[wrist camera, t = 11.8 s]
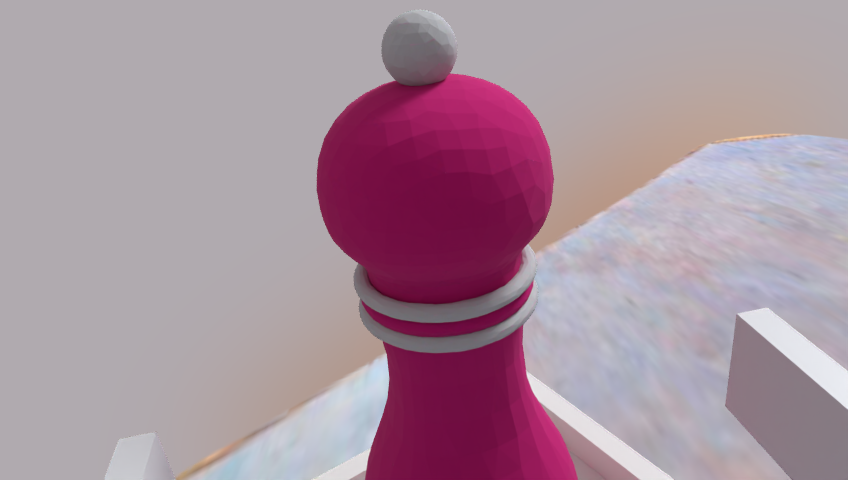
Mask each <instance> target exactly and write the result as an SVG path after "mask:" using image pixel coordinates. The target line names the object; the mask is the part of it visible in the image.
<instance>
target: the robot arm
mask: <svg viewBox="0 0 848 480" xmlns="http://www.w3.org/2000/svg"><path fill="white" fill-rule="evenodd" d="M725 406H726V407H727V408H728V410H729V411H730V412H731V413H732V414H733V415H734V416H735V417H736V418H737V420H738V421H739V422H740V423H741V424H742V425H743V426H744V427H745V428H746V429H747V431H748V432H749V433H750V434H751V435H752V436H753V437H754V438H755V439H756V441H757V442H758V443H759V444H760V445H761V446H762V447H763V448H764V449H765V450H766V452H767V453H768V454H769V455H770V456H771V457H772V458H773V459H774V460H775V461H776V463H777V464H778V465H779V466H780V467H781V468H782V469H783V470H784V471H785V473H786V474H787V475H788V476H789V477H790V478H791V479H792V480H848V371H847V370H846V369H844V368H843V367H842V366H841V365H839V364H838V363H837V362H835V361H834V360H833V359H832V358H830V357H829V356H828V355H827V354H825V353H824V352H823V351H822V350H820V349H819V348H818V347H817V346H815V345H814V344H813V343H811V342H810V341H809V340H808V339H806V338H805V337H804V336H803V335H801V334H800V333H799V332H798V331H796V330H795V329H794V328H793V327H791V326H790V325H789V324H787V323H786V322H785V321H784V320H782V319H781V318H780V317H779V316H777V315H776V314H775V313H774V312H772V311H771V310H770V309H769V308H762V309H758V310H753V311H748V312H743V313H738V314H737V315H736V323H735V332H734V340H733V348H732V356H731V364H730V372H729V380H728V388H727V396H726V404H725ZM104 480H176V479H175V477H174V474H173V472H172V469H171V467H170V464H169V462H168V459H167V457H166V454H165V452H164V449H163V447H162V444H161V442H160V439H159V437H158V434H157V432H152V433H147V434H142V435H137V436H132V437H127V438H122V439H119V440H118V443H117V446H116V449H115V451H114V454H113V457H112V459H111V462H110V465H109V468H108V470H107V473H106V476H105V478H104Z"/></svg>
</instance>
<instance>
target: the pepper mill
mask: <svg viewBox="0 0 848 480" xmlns="http://www.w3.org/2000/svg"><path fill="white" fill-rule="evenodd" d="M456 57H457V42H456V38H455V35H454V33H453V30H452V28H451V27H450V26H449V25H448V23H447V22H446V21H445V20H444V19H443V18H442V17H440V16H439V15H437V14H435V13H433V12H430V11H426V10H413V11H408V12H406V13H403V14H401V15H400V16H398V17H397V18H396V19H394V20H393V21H392V22H391V24H390V25H389V26H388V28H387V30H386V32H385V34H384V37H383V41H382V58H383V62H384V64H385V67H386V69H387V70H388V72H389V73H390V74H391V76H392V77H393V78H394V79H395V80H396V81H393V82H389V83H386V84H383V85H381V86H379V87H377V88H375V89H373V90H371V91H369V92H367V93H365V94H363V95H362V96H360V97H359V98H358V99H356V100H355V101H354V102H352V103H351V104H350V105H349V106H347V107H346V109H345V110H344V111H343V112H342V113H341V114H340V115H339V117H338V118H337V119H336V120H335V122H334V123H333V125H332V127H331V128H330V130H329V131H328V133H327V135H326V137H325V138H324V142H323V145H322V148H321V152H320V155H319V158H318V169H317V193H318V199H319V204H320V210H321V213H322V217H323V220H324V222H325V225H326V227H327V229H328V232H329V234H330V236H331V237H332V239H333V241H334V242H335V243H336V244H337V245H338V246H339V247H340V248H341V249H342V250H343V251H344V253H346V254H347V255H348V256H350V257H351V258H352V259H353V260H355V261H356V262H358V265H357V268H356V269H355V273H354V286H355V290H356V292H357V294H358V296H359V297H360V303H359V311H360V317H361V319H362V322H363V324H364V325H365V327H366V328H367V329H368V330H369V331H370V332H371V333H372V334H373V335H374V336H375V337H377V338H378V339H380V340H382V341H383V344H384V347H385V350H386V353H387V359H388V369H389V378H390V379H389V389H388V398H387V402H386V405H385V409H384V413H383V416H382V418H381V421H380V424H379V427H378V430H377V432H376V435H375V438H374V441H373V444H372V447H371V450H370V453H369V457H368V462H367V469H366V475H365V480H578V477H577V474H576V470H575V466H574V463H573V461H572V458H571V456H570V454H569V451H568V449H567V446H566V444H565V442H564V440H563V438H562V436H561V434H560V432H559V430H558V429H557V427H556V426H555V425H554V423H553V422H552V420H551V419H550V417H549V416H548V414H547V413H546V411H545V410H544V408H543V407H542V405H541V404H540V403H539V401H538V400H537V398H536V396H535V395H534V393H533V391H532V389H531V386H530V383H529V381H528V378H527V374H526V367H525V359H524V352H523V345H522V340H523V324H524V323H525V322H526V321H527V320H528V319H529V317H530V316H531V314H532V313H533V311H534V310H535V307H536V305H537V301H538V287H537V284H536V282H535V280H534V277H535V275H536V272H537V261H536V257H535V253H534V252H533V250H532V249H531V247H530V246H529V245H528V243H529V242H530V241H531V240H532V239H533V238H534V236H535V235H536V234H537V233H538V232H539V230H540V229H541V227H542V226H543V224H544V222H545V220H546V217H547V215H548V212H549V209H550V206H551V202H552V193H553V182H554V177H553V170H552V163H551V156H550V149H549V146H548V143H547V141H546V138H545V135H544V133H543V131H542V129H541V126H540V124H539V122H538V120H537V119H536V118H535V117H534V115H533V114H532V113H531V111H530V110H529V109H528V108H527V106H526V105H524V104H523V103H522V102H521V101H520V100H519V99H518V98H516V97H515V96H514V95H513V94H512V93H510V92H508V91H506V90H505V89H503V88H501V87H500V86H498V85H496V84H493V83H490V82H488V81H486V80H483V79H479V78H475V77H471V76H466V75H459V74H450V72H451V70H452V68H453V66H454V64H455V61H456Z"/></svg>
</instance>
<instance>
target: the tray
mask: <svg viewBox="0 0 848 480" xmlns="http://www.w3.org/2000/svg"><path fill="white" fill-rule="evenodd" d="M526 374H527V378H528V381H529V383H530V386H531V389H532V391H533V393H534V395H535V396H536V398H537V400H538V401H539V403H540V404H541V405H542V407H543V408H544V410H545V411H546V413H547V414H548V416H549V417H550V419H551V420H552V422H553V423H554V425H555V426H556V427H557V429H558V430H559V432H560V434H561V436H562V438H563V440H564V442H565V444H566V446H567V449H568V451H569V454H570V456H571V458H572V461H573V463H574V466H575V470H576V474H577V477H578V480H674V479H673V478H671V477H670V476H669V475H667V474H666V473H665V472H663V471H662V470H660V469H659V468H658V467H656V466H655V465H654V464H652V463H651V462H650V461H648V460H647V459H646V458H644V457H643V456H641V455H640V454H639V453H637V452H636V451H635V450H633V449H632V448H631V447H629V446H628V445H626V444H625V443H624V442H622V441H621V440H620V439H618V438H617V437H616V436H614V435H613V434H612V433H610V432H609V431H607V430H606V429H605V428H603V427H602V426H601V425H599V424H598V423H597V422H595V421H594V420H592V419H591V418H590V417H588V416H587V415H586V414H584V413H583V412H582V411H580V410H579V409H577V408H576V407H575V406H573V405H572V404H571V403H569V402H568V401H567V400H565V399H564V398H563V397H561V396H560V395H558V394H557V393H556V392H554V391H553V390H552V389H550V388H549V387H548V386H546V385H545V384H543V383H542V382H541V381H539V380H538V379H537V378H535V377H534V376H533V375H531V374H530V373H529V372H527V371H526ZM370 450H371V448H370V449H368V450H366V451H364V452H362V453H360V454H359V455H357V456H355V457H353V458H351V459H349V460H347V461H345V462H344V463H342V464H340V465H338V466H336V467H334V468H332V469H331V470H329V471H327V472H325V473H323V474H321V475H319V476H317V477H316V478H314V479H312V480H365V475H366V469H367V462H368V457H369V453H370Z"/></svg>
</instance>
